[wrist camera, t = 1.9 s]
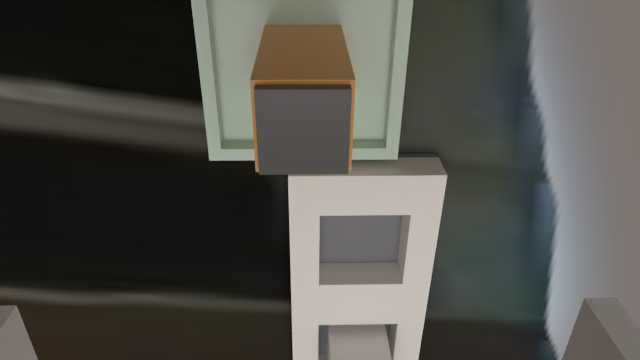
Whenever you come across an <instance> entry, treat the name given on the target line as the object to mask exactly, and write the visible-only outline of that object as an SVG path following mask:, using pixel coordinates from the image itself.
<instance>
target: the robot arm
mask: <svg viewBox="0 0 640 360" xmlns="http://www.w3.org/2000/svg"><path fill="white" fill-rule="evenodd" d="M0 360H38V359H37V356H36V354H35V351H34V349H33V346H32V344H31V341H30V339H29V336H28V334H27V331H26V329H25V326H24V324H23V321H22V319H21V316H20V313H19V311H18V308H17V306H0ZM562 360H640V329H639V327H638V326H637V325H636V323H635V322H634V321H633V319H632V318H631V317H630V315H629V314H628V313H627V311H626V310H625V309H624V308H623V306H622V305H621V304H620V302H619V301H618V300H617V298H585V299H584V301H583V303H582V306H581V309H580V312H579V314H578V317H577V320H576V323H575V325H574V328H573V331H572V334H571V336H570V339H569V342H568V345H567V348H566V350H565V353H564V356H563V358H562Z"/></svg>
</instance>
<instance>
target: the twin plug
mask: <svg viewBox="0 0 640 360" xmlns="http://www.w3.org/2000/svg"><path fill="white" fill-rule="evenodd" d="M327 360H392V359H391V354H390V349H389V343H388V338H387V332H386V327H385V324H363V325H327Z"/></svg>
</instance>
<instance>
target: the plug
mask: <svg viewBox="0 0 640 360" xmlns="http://www.w3.org/2000/svg"><path fill="white" fill-rule="evenodd" d="M355 83H356V79H355V76H354V72H353V68H352V64H351V60H350V57H349V53H348V49H347V45H346V41H345V38H344V34H343V30H342V26H341V25H265V26H264V29H263V33H262V37H261V41H260V44H259V48H258V52H257V55H256V59H255V63H254V67H253V70H252V74H251V78H250V89H251V105H252V121H253V136H254V152H255V168H256V172H259V175H303V174H348V171H351V168H352V147H353V126H354V104H355Z"/></svg>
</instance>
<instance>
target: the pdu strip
mask: <svg viewBox="0 0 640 360" xmlns="http://www.w3.org/2000/svg"><path fill="white" fill-rule="evenodd" d="M446 181H447V173H446V171H445V169H444V167H443V165H442V163H441V161H440V159H439V157H438V155H437V153H398V160H352V168H351V171H348V174H303V175H288V193H289V231H290V268H291V306H292V343H293V360H327V325H363V324H385V327H386V332H387V338H388V343H389V349H390V354H391V359H392V360H418V358H419V351H420V345H421V339H422V332H423V326H424V320H425V313H426V307H427V301H428V295H429V288H430V282H431V276H432V269H433V263H434V257H435V250H436V244H437V238H438V232H439V225H440V219H441V213H442V206H443V200H444V194H445V187H446Z"/></svg>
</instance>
